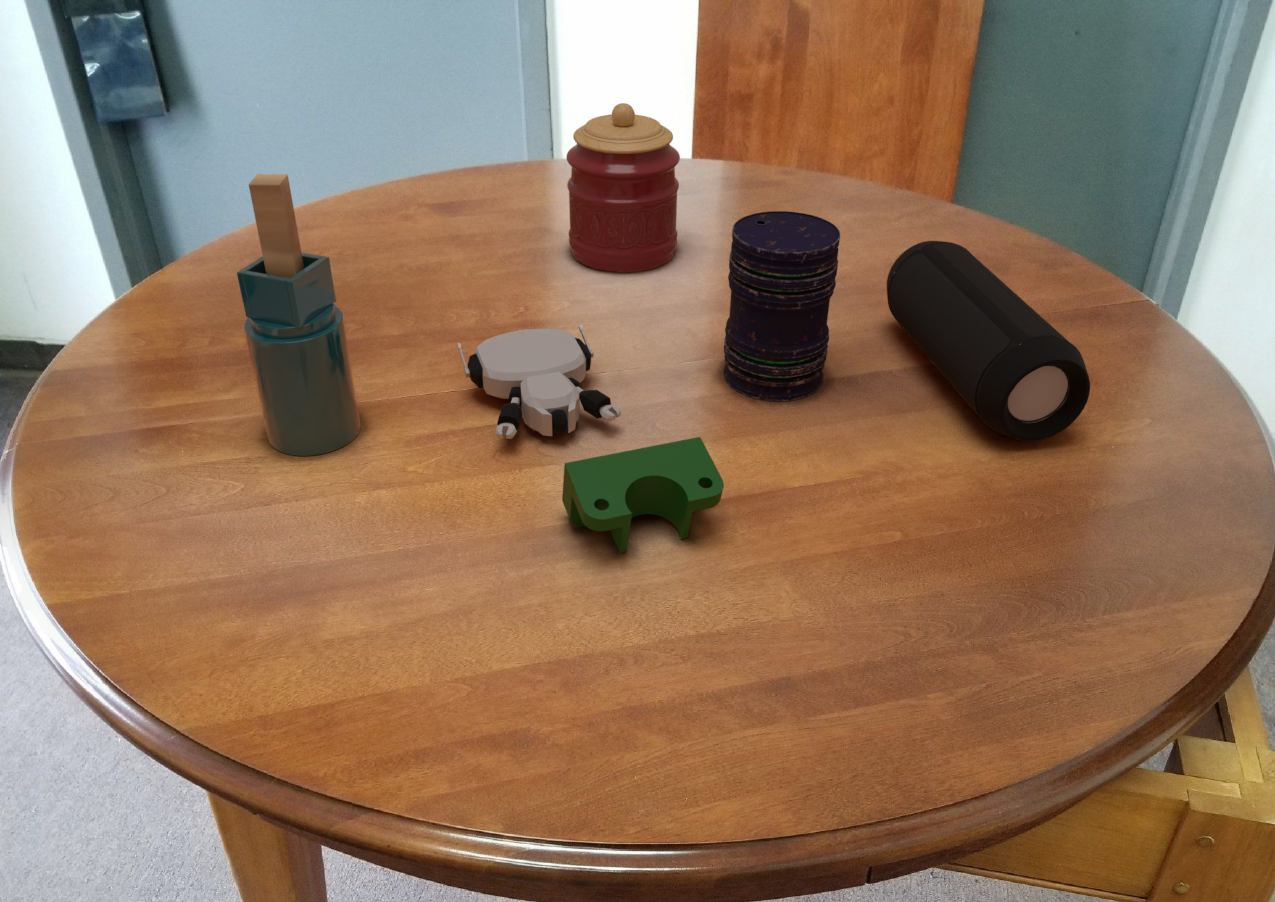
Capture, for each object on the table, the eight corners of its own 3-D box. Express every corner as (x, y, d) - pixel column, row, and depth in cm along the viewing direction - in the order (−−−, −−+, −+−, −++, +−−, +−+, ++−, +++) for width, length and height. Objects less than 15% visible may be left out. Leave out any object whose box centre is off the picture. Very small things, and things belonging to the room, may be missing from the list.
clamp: (605, 589, 85) (566, 533, 77) (582, 532, 88) (543, 473, 81) (742, 523, 84) (716, 461, 77) (713, 468, 88) (686, 404, 81)
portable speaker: (1083, 445, 95) (1113, 345, 89) (979, 456, 93) (1002, 355, 87) (958, 317, 115) (976, 229, 110) (871, 324, 114) (885, 235, 108)
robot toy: (628, 442, 96) (579, 354, 107) (630, 400, 93) (579, 315, 104) (494, 467, 92) (457, 374, 103) (491, 424, 90) (454, 333, 101)
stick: (281, 301, 90) (257, 173, 84) (310, 301, 90) (287, 173, 84) (274, 314, 88) (248, 184, 82) (303, 314, 88) (279, 184, 82)
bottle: (249, 445, 93) (210, 276, 84) (302, 401, 100) (271, 239, 91) (328, 463, 91) (296, 292, 82) (377, 417, 97) (353, 252, 89)
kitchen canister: (612, 223, 137) (611, 81, 127) (697, 247, 130) (704, 100, 120) (546, 256, 128) (540, 106, 118) (635, 284, 121) (636, 128, 112)
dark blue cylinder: (844, 375, 105) (863, 230, 96) (784, 413, 99) (799, 263, 90) (763, 341, 110) (774, 202, 102) (701, 376, 104) (708, 231, 96)
